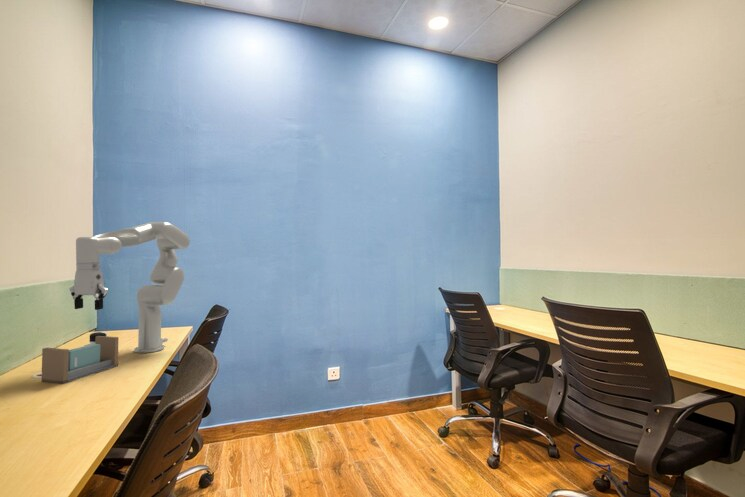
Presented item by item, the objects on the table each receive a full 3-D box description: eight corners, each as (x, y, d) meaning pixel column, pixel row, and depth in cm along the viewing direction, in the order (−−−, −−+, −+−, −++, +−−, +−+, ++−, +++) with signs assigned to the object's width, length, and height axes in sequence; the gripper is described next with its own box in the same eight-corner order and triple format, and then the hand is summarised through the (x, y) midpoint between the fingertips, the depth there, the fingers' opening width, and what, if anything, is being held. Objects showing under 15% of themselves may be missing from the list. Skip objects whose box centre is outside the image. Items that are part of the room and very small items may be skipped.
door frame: (98, 364, 155) (98, 335, 155) (117, 365, 153) (118, 337, 153) (41, 381, 133) (42, 348, 133) (63, 383, 131) (64, 350, 131)
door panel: (93, 365, 149) (94, 343, 149) (100, 366, 148) (100, 344, 149) (63, 375, 137) (63, 351, 138) (70, 375, 137) (70, 351, 137)
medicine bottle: (96, 362, 157) (97, 334, 157) (83, 361, 158) (83, 334, 158) (111, 358, 164) (112, 331, 164) (98, 357, 165) (99, 330, 165)
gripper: (114, 266, 151) (115, 307, 152) (79, 266, 154) (80, 306, 155) (97, 268, 144) (98, 311, 144) (61, 267, 147) (62, 309, 147)
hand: (88, 308), depth 149 cm, fingers open, 9 cm apart
